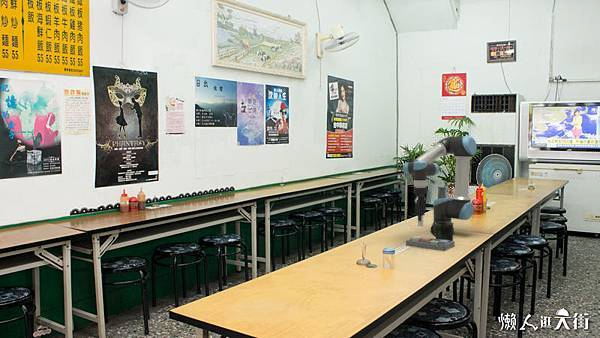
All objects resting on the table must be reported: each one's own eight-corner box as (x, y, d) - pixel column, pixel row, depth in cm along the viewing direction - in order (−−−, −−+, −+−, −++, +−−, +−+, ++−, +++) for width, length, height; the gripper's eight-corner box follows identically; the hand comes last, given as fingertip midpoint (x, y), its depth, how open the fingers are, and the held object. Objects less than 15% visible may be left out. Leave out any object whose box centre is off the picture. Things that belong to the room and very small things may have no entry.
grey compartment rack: (417, 242, 320) (417, 236, 320) (454, 247, 305) (454, 241, 304) (406, 247, 310) (406, 240, 309) (444, 252, 294) (444, 245, 294)
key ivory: (415, 240, 316) (415, 236, 315) (421, 240, 313) (421, 237, 313) (411, 241, 312) (411, 237, 312) (418, 242, 309) (418, 238, 309)
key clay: (423, 241, 312) (423, 237, 312) (430, 242, 309) (430, 238, 309) (420, 242, 309) (420, 238, 308) (427, 243, 306) (427, 239, 306)
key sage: (432, 244, 308) (432, 240, 308) (439, 245, 305) (439, 241, 305) (429, 245, 305) (429, 241, 305) (436, 246, 302) (436, 242, 302)
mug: (448, 245, 313) (448, 225, 312) (426, 241, 323) (426, 222, 322) (456, 241, 321) (456, 222, 320) (435, 239, 330) (435, 220, 330)
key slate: (442, 243, 304) (442, 239, 304) (449, 244, 302) (449, 240, 301) (438, 245, 301) (438, 240, 301) (445, 245, 298) (445, 241, 298)
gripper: (419, 185, 316) (419, 223, 318) (409, 187, 306) (409, 227, 308) (430, 186, 311) (431, 224, 313) (421, 188, 301) (421, 228, 303)
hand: (420, 226), depth 310 cm, fingers closed
